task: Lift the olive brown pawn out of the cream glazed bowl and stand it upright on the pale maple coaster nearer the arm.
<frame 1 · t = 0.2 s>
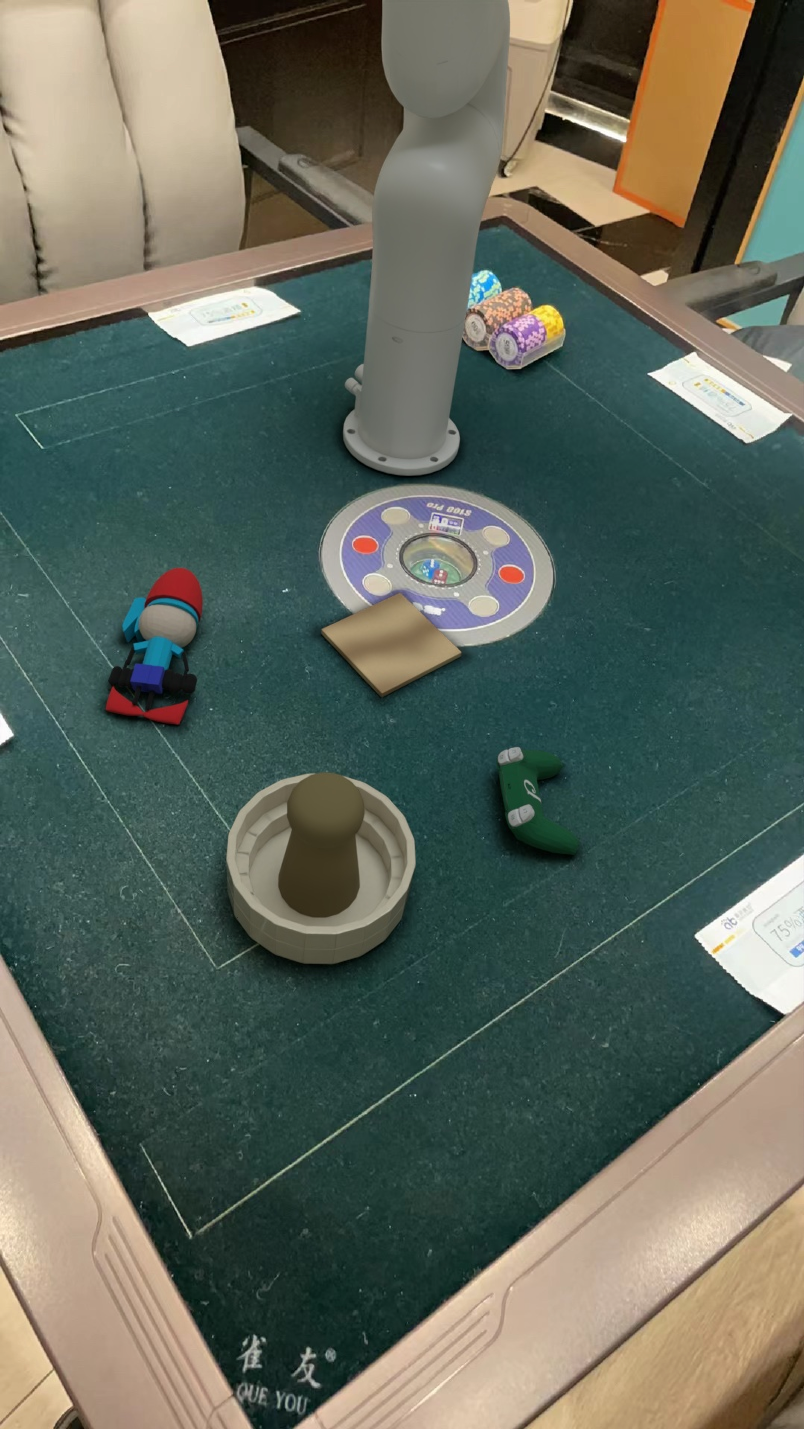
gaming controller: (531, 811, 84), on the table
bowl: (318, 885, 78), on the table
olive brown pawn: (319, 882, 77), resting on bowl
coaster: (390, 645, 94), on the table
toy figure: (163, 657, 90), on the table
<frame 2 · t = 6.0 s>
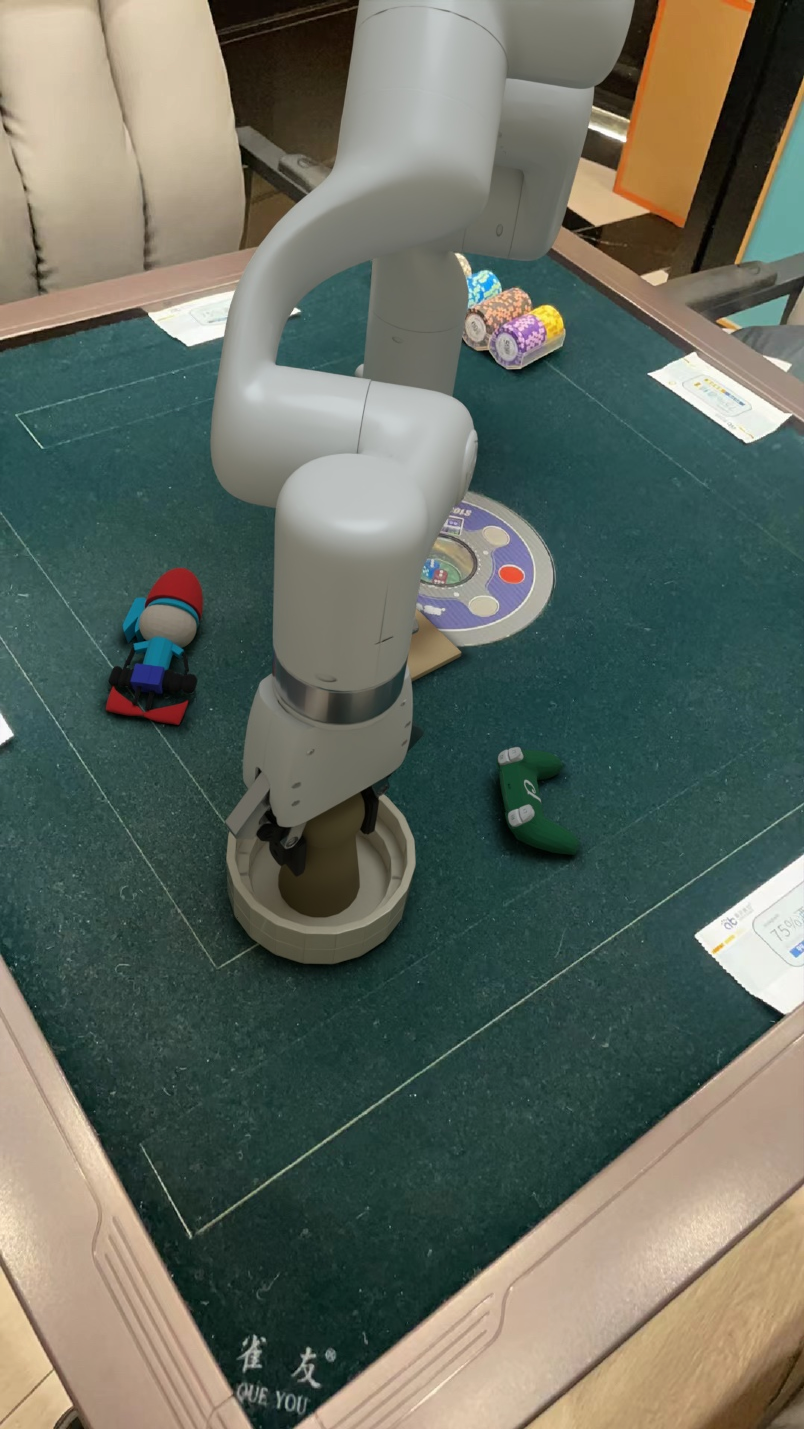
hand: (323, 837, 73), 6 cm above the table, tool pointing down, fingers closed on olive brown pawn, 5 cm apart
olive brown pawn: (319, 882, 77), resting on bowl, touching gripper
everything else where it was.
when the fingers open (6 cm above the table, at t = 14.3 s): olive brown pawn stays where it is, resting on coaster.
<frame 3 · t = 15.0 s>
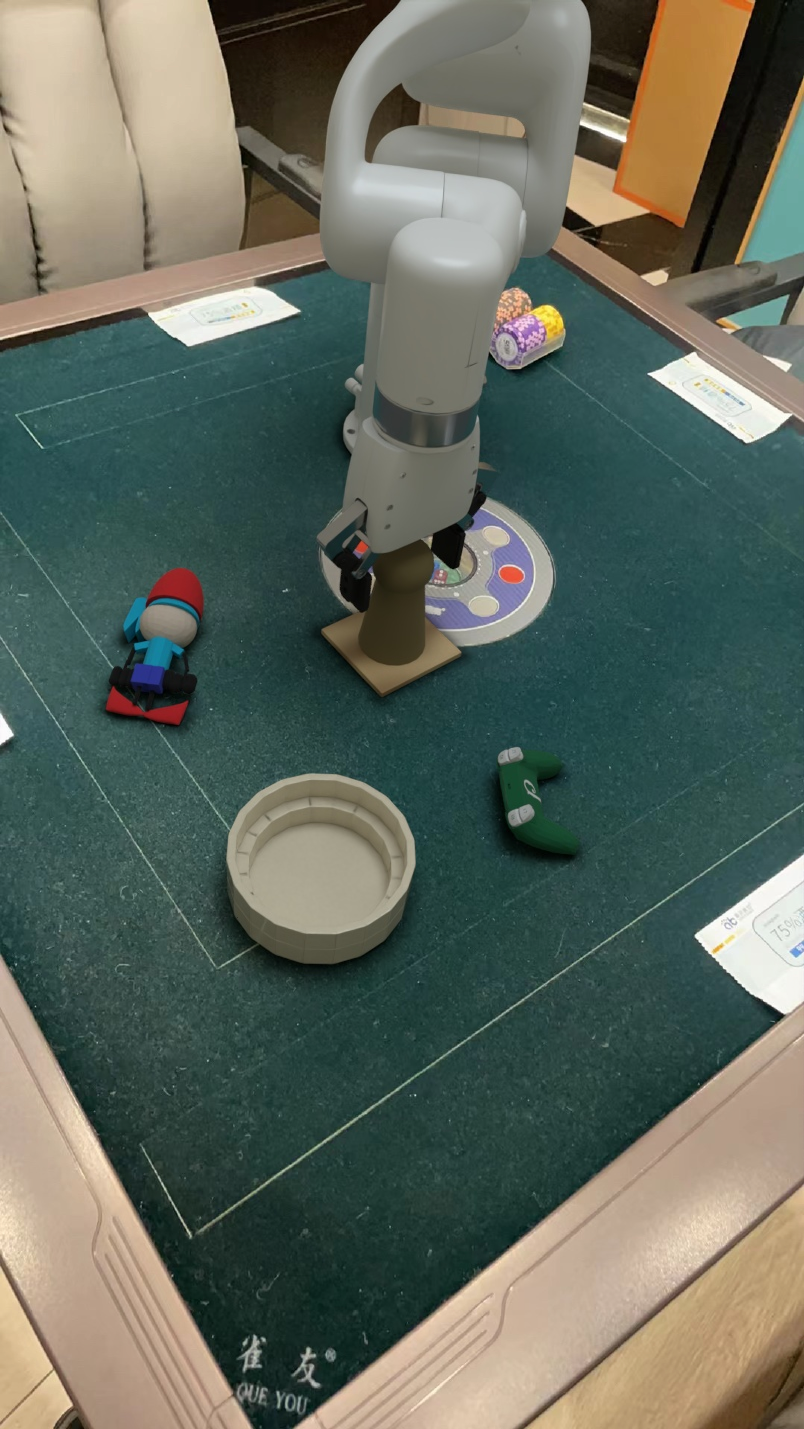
hand: (400, 580, 88), 8 cm above the table, tool pointing down, fingers open, 9 cm apart
olive brown pawn: (391, 642, 94), resting on coaster
everything else where it was.
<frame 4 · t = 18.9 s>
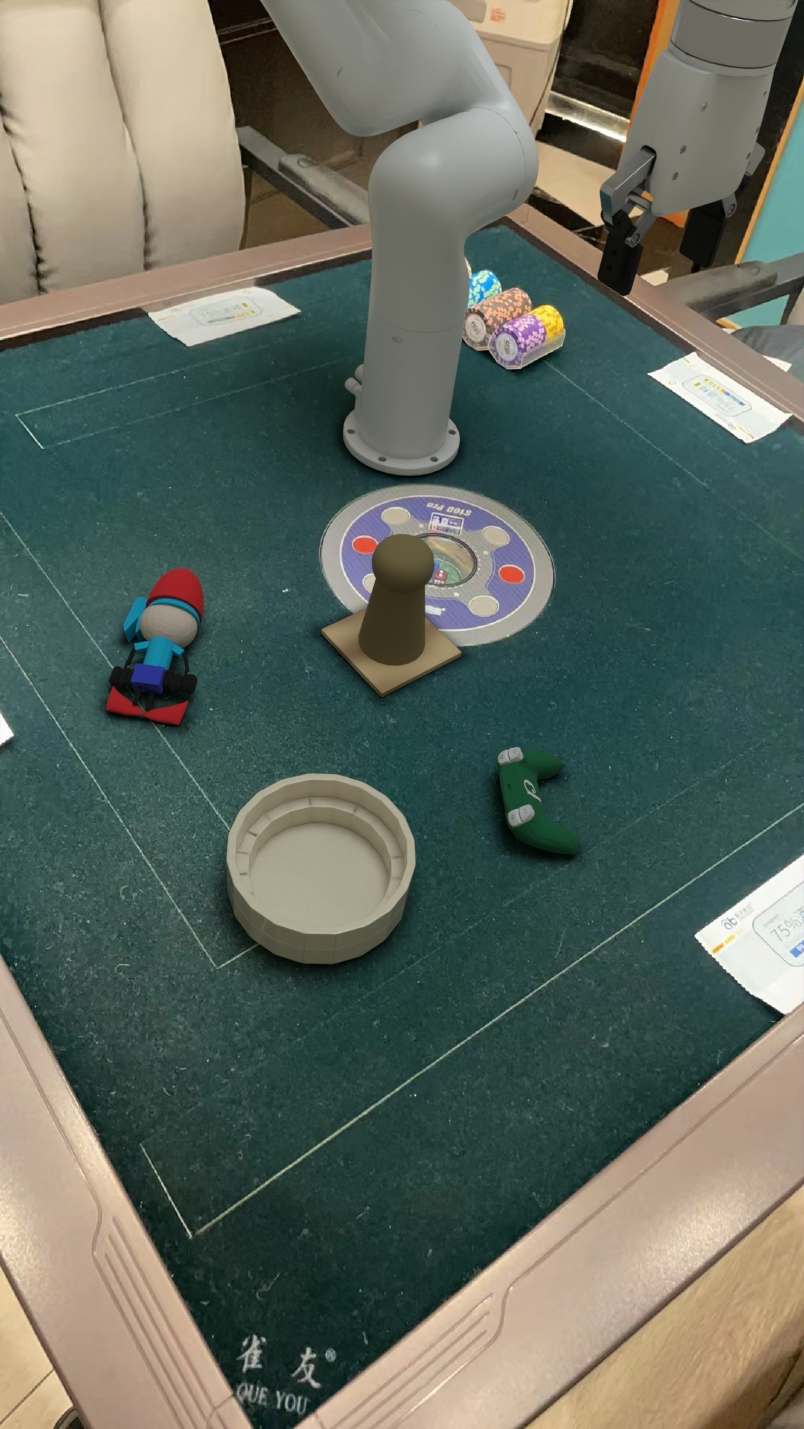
hand: (654, 273, 84), 28 cm above the table, tool pointing down, fingers open, 9 cm apart
nothing on the table moved.
at the end: olive brown pawn inside the target area on the coaster (0.0 cm from its centre), point 0.4 cm above the coaster's base; olive brown pawn tilted 0°; the gripper is holding nothing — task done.
